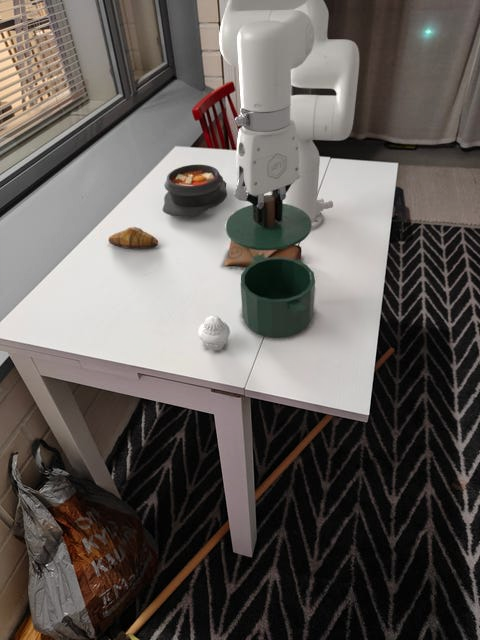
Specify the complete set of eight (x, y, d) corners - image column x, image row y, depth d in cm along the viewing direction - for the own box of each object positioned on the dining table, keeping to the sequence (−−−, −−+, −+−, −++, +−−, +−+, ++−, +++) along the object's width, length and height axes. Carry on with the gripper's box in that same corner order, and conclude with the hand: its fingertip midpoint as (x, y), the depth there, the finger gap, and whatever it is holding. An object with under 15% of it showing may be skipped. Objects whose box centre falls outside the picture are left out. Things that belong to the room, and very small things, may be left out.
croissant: (162, 239, 122) (159, 223, 119) (154, 254, 117) (150, 237, 114) (115, 236, 125) (111, 220, 121) (105, 250, 120) (100, 233, 116)
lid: (287, 201, 92) (287, 171, 88) (327, 239, 81) (329, 207, 77) (214, 220, 88) (210, 190, 84) (246, 262, 77) (244, 230, 73)
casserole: (208, 227, 126) (205, 198, 120) (148, 218, 131) (142, 190, 125) (240, 186, 143) (238, 160, 137) (186, 180, 148) (182, 154, 143)
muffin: (224, 358, 89) (221, 332, 84) (195, 352, 90) (190, 325, 86) (235, 337, 93) (233, 311, 88) (207, 331, 95) (203, 305, 90)
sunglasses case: (221, 266, 111) (223, 238, 109) (229, 264, 117) (231, 237, 116) (296, 274, 107) (299, 245, 105) (299, 271, 113) (302, 244, 112)
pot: (287, 279, 106) (288, 244, 100) (332, 333, 92) (336, 296, 86) (228, 296, 103) (225, 261, 96) (265, 356, 89) (264, 319, 82)
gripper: (234, 137, 66) (241, 245, 78) (322, 110, 72) (316, 215, 84) (208, 122, 71) (219, 227, 83) (293, 98, 77) (291, 199, 89)
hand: (268, 220), depth 84 cm, fingers closed on lid, 2 cm apart
